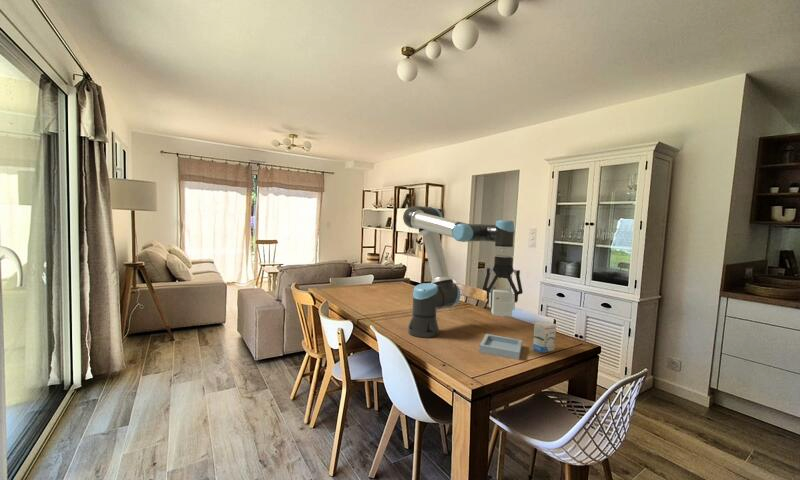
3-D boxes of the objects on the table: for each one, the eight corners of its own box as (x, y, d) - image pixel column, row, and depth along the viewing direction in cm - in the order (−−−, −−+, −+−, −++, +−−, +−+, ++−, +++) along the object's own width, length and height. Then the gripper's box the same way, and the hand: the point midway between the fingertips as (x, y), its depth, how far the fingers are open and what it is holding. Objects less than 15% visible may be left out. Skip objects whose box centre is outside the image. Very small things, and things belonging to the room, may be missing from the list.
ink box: (541, 353, 144) (543, 326, 144) (532, 349, 149) (534, 323, 148) (555, 350, 148) (557, 324, 148) (545, 346, 153) (547, 321, 152)
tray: (479, 351, 143) (479, 345, 143) (485, 340, 158) (486, 333, 157) (518, 359, 137) (519, 352, 136) (521, 346, 151) (522, 340, 151)
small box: (509, 313, 148) (510, 289, 148) (512, 316, 143) (513, 292, 142) (490, 312, 149) (491, 288, 149) (492, 315, 144) (493, 290, 143)
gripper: (476, 255, 146) (474, 306, 147) (530, 258, 137) (527, 313, 138) (480, 254, 153) (478, 303, 154) (531, 257, 144) (529, 309, 145)
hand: (501, 308), depth 146 cm, fingers closed on small box, 9 cm apart
